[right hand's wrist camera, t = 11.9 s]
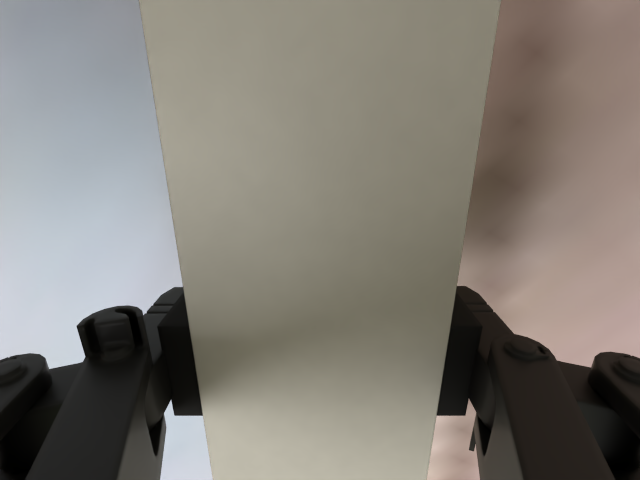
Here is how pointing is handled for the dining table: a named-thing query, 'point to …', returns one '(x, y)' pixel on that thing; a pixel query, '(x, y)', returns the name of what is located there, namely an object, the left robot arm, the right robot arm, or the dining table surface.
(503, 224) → the dining table surface
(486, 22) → the post
